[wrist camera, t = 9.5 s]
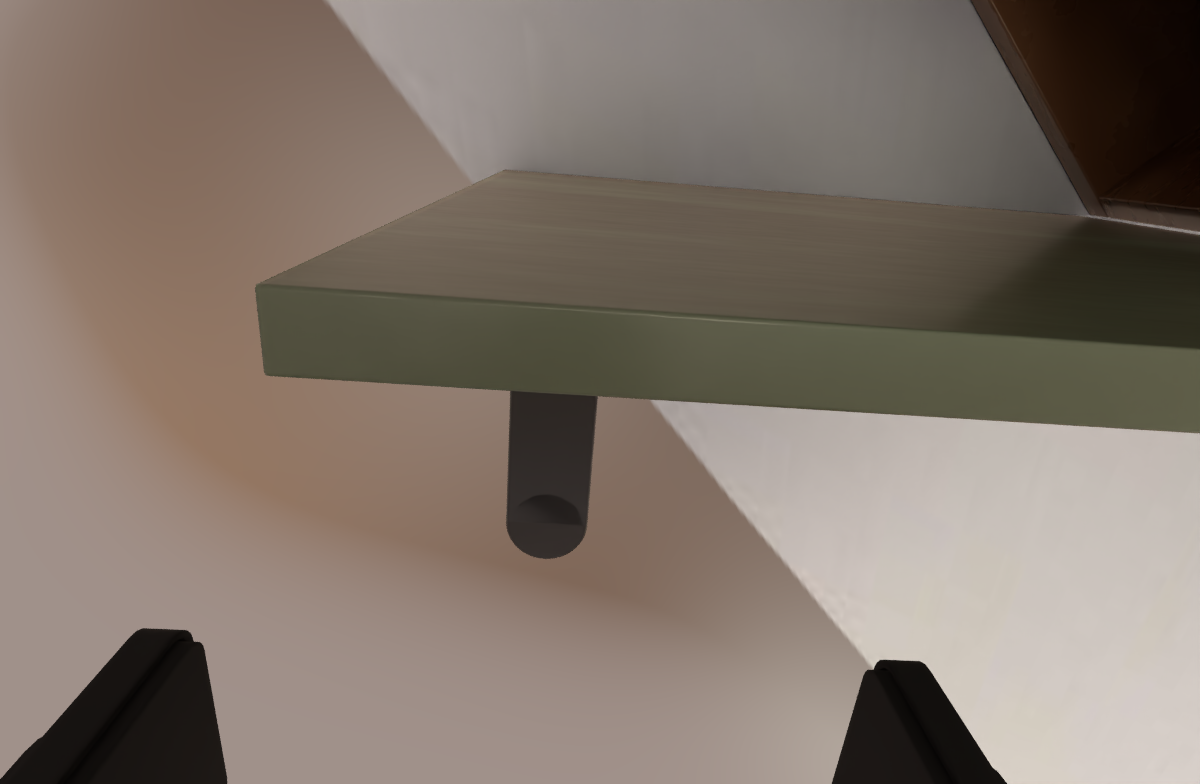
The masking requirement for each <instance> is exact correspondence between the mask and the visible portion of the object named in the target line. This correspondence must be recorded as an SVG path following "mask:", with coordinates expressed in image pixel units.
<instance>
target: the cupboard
mask: <svg viewBox="0 0 1200 784" xmlns="http://www.w3.org/2000/svg"><path fill="white" fill-rule="evenodd" d="M971 1H972V3H973V5H974V7H975V8H976V10H977V12H978V14H979V16H980V17H981V19H982V21H983V23H984V25H985V26H986V28H987V30H988V32H989V34H990V35H991V37H992V39H993V41H994V43H995V44H996V46H997V48H998V50H999V52H1000V53H1001V55H1002V57H1003V59H1004V61H1005V62H1006V64H1007V66H1008V68H1009V70H1010V71H1011V73H1012V75H1013V77H1014V79H1015V80H1016V82H1017V84H1018V86H1019V88H1020V89H1021V91H1022V93H1023V95H1024V97H1025V98H1026V100H1027V102H1028V104H1029V106H1030V107H1031V109H1032V111H1033V113H1034V115H1035V116H1036V118H1037V120H1038V122H1039V124H1040V125H1041V127H1042V129H1043V131H1044V133H1045V134H1046V136H1047V138H1048V140H1049V142H1050V143H1051V145H1052V147H1053V149H1054V151H1055V152H1056V154H1057V156H1058V158H1059V160H1060V161H1061V163H1062V165H1063V167H1064V169H1065V170H1066V172H1067V174H1068V176H1069V178H1070V179H1071V181H1072V183H1073V185H1074V187H1075V188H1076V190H1077V192H1078V194H1079V196H1080V197H1081V199H1082V201H1083V203H1084V205H1085V206H1086V208H1087V210H1088V212H1089V214H1090V215H1094V216H1101V217H1110V218H1114V219H1120V220H1127V221H1133V222H1140V223H1146V224H1152V225H1159V226H1165V227H1172V228H1178V229H1185V230H1191V231H1198V232H1200V0H971Z"/></svg>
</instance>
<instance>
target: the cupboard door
mask: <svg viewBox="0 0 1200 784" xmlns="http://www.w3.org/2000/svg"><path fill="white" fill-rule="evenodd" d="M255 292H256V301H257V311H258V320H259V329H260V338H261V347H262V357H263V366H264V373H265V375H268V376H278V377H296V378H311V379H312V378H313V379H328V380H343V381H360V382H377V383H392V384H410V385H424V386H441V387H457V388H475V389H490V390H506V391H510V421H509V423H510V424H509V425H510V426H509V452H508V453H509V454H508V485H507V515H506V516H507V517H506V524H507V525H506V526H507V531H508V534H509V536H510V538H511V540H512V541H513V543H514V544H515V545H516V546H517V547H518V548H519V549H520V550H521V551H523V552H524V553H526V554H528V555H530V556H533V557H537V558H543V559H550V558H557V557H561V556H564V555H566V554H568V553H570V552H571V551H573V550H574V549H575V548H576V547H577V546H578V545H579V544H580V542H581V541H582V539H583V538H584V536H585V533H586V529H587V520H588V507H589V495H590V483H591V471H592V459H593V446H594V435H595V423H596V410H597V399H598V396H603V397H621V398H635V399H651V400H668V401H684V402H700V403H716V404H733V405H749V406H765V407H781V408H797V409H814V410H830V411H846V412H862V413H879V414H895V415H911V416H927V417H943V418H960V419H976V420H992V421H1008V422H1025V423H1041V424H1057V425H1073V426H1089V427H1106V428H1122V429H1138V430H1154V431H1171V432H1187V433H1200V235H1197V234H1190V233H1184V232H1178V231H1172V230H1165V229H1159V228H1153V227H1147V226H1140V225H1134V224H1128V223H1122V222H1115V221H1109V220H1103V219H1097V218H1090V217H1084V216H1075V215H1063V214H1050V213H1038V212H1025V211H1013V210H1001V209H988V208H976V207H963V206H951V205H938V204H926V203H913V202H901V201H888V200H876V199H863V198H851V197H838V196H826V195H813V194H801V193H788V192H776V191H763V190H751V189H738V188H726V187H713V186H701V185H688V184H676V183H663V182H651V181H639V180H626V179H614V178H601V177H589V176H576V175H564V174H551V173H539V172H526V171H514V170H503V171H501V172H499V173H497V174H494V175H492V176H490V177H488V178H486V179H484V180H481V181H479V182H477V183H475V184H473V185H471V186H468V187H466V188H464V189H462V190H460V191H458V192H455V193H453V194H451V195H449V196H447V197H445V198H443V199H440V200H438V201H436V202H434V203H432V204H429V205H427V206H425V207H423V208H421V209H419V210H416V211H414V212H412V213H410V214H408V215H406V216H403V217H401V218H399V219H397V220H395V221H393V222H390V223H388V224H386V225H384V226H382V227H380V228H377V229H375V230H373V231H371V232H369V233H367V234H365V235H363V236H360V237H358V238H356V239H354V240H352V241H350V242H347V243H345V244H343V245H341V246H339V247H336V248H334V249H332V250H330V251H328V252H326V253H323V254H321V255H319V256H317V257H315V258H313V259H311V260H308V261H306V262H304V263H302V264H300V265H298V266H295V267H293V268H291V269H289V270H287V271H284V272H282V273H280V274H278V275H276V276H274V277H271V278H269V279H267V280H265V281H263V282H261V283H258V284H257V285H256V287H255Z"/></svg>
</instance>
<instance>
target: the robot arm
mask: <svg viewBox="0 0 1200 784" xmlns="http://www.w3.org/2000/svg"><path fill="white" fill-rule="evenodd" d="M0 784H227V775H226V769H225V763H224V758H223V752H222V747H221V741H220V736H219V730H218V724H217V718H216V714H215V707H214V701H213V696H212V690H211V684H210V679H209V674H208V667H207V662H206V656H205V650H204V647H203V645H202V644H201V643H200V642H194V641H193V638H192V635H191V633H190V632H188V631H186V630H170V629H169V630H168V629H147V628H146V629H145V628H143V629H140V630H138V631H136V632H135V633H134V634H133V635H132V636H131V637H130V638H129V639H128V640H127V641H126V642H125V644H123V646H122V647H121V648H120V649H119V650H118V651H117V653H116V654H115V655H114V656H113V657H112V658H111V659H110V660H109V662H108V663H107V664H106V665H105V666H104V667H103V668H102V670H101V671H100V672H99V673H98V674H97V675H96V676H95V678H94V679H93V680H92V681H91V682H90V683H89V684H88V685H87V687H86V688H85V689H84V690H83V691H82V692H81V693H80V695H79V696H78V697H77V698H76V699H75V700H74V701H73V703H72V704H71V705H70V706H69V707H68V708H67V710H66V711H65V712H64V713H63V714H62V715H61V716H60V717H59V719H58V720H57V721H56V722H55V723H54V724H53V725H52V726H51V728H50V729H49V730H48V731H47V732H46V733H45V735H44V736H43V737H41V738H39V739H38V740H37V741H36V742H35V743H33V744H32V745H31V747H29V748H28V749H27V750H26V751H25V752H24V753H23V754H22V755H21V757H20V758H19V759H18V760H17V761H16V762H15V763H14V764H13V766H12V767H11V768H10V769H9V770H8V771H7V772H6V774H5V775H4V776H3V777H2V778H1V779H0ZM832 784H1007V783H1006V782H1005V780H1004V779H1003V778H1002V777H1001V775H1000V774H999V773H998V772H997V771H996V770H995V769H993V768H992V766H991V765H990V763H989V762H988V760H987V759H986V757H985V755H984V754H983V752H982V751H981V749H980V748H979V746H978V744H977V743H976V741H975V740H974V738H973V737H972V735H971V734H970V732H969V730H968V729H967V727H966V726H965V724H964V723H963V721H962V720H961V718H960V716H959V715H958V713H957V712H956V710H955V709H954V707H953V706H952V704H951V702H950V701H949V699H948V698H947V696H946V695H945V693H944V692H943V690H942V688H941V687H940V685H939V684H938V682H937V681H936V679H935V678H934V676H933V674H932V673H931V671H930V670H929V669H928V667H927V666H926V665H925V664H924V663H922V662H920V661H900V660H880V661H879V662H877V663H876V666H875V668H874V670H867V671H866V672H865V674H864V676H863V679H862V682H861V686H860V690H859V693H858V696H857V700H856V703H855V706H854V710H853V713H852V717H851V720H850V723H849V727H848V730H847V734H846V737H845V740H844V744H843V747H842V751H841V754H840V757H839V761H838V764H837V768H836V771H835V774H834V778H833V782H832Z"/></svg>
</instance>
